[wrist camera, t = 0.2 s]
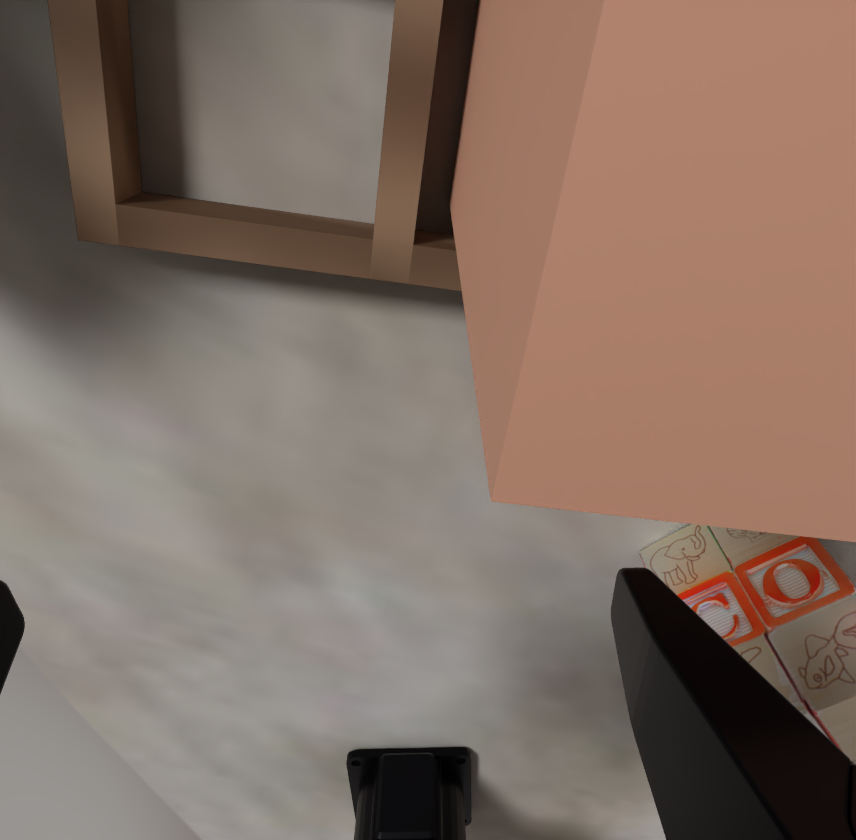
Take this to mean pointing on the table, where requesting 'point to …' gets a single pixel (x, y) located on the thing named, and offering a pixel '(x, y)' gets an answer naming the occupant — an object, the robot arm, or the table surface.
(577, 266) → the terracotta block
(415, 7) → the walnut rack
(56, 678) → the table surface
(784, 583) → the stack of blocks
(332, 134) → the table surface
